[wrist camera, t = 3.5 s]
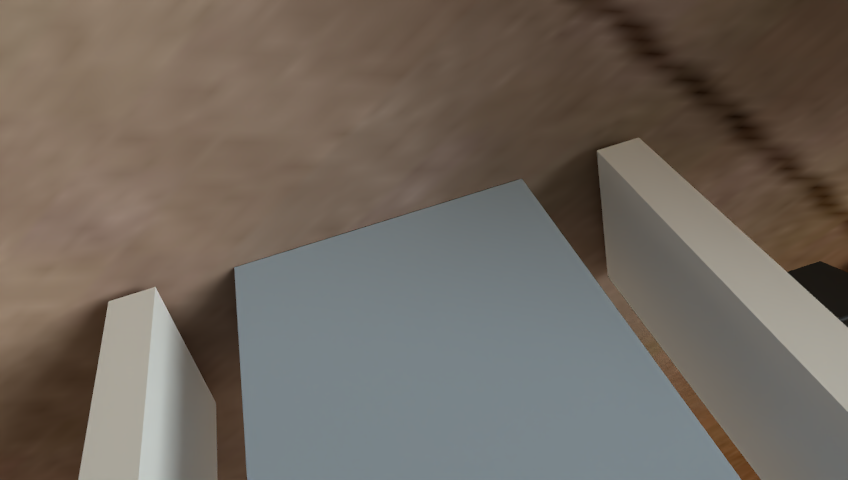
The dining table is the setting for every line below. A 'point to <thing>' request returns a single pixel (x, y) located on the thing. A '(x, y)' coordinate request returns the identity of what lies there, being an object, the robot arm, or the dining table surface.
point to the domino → (453, 358)
